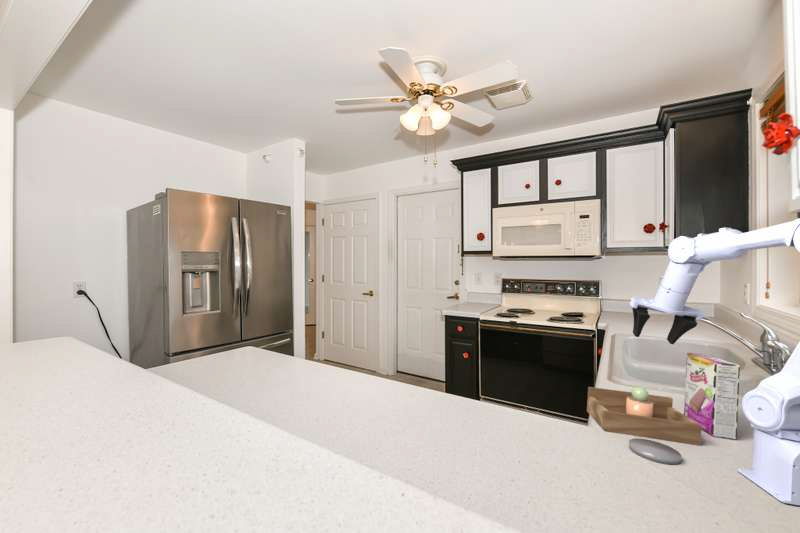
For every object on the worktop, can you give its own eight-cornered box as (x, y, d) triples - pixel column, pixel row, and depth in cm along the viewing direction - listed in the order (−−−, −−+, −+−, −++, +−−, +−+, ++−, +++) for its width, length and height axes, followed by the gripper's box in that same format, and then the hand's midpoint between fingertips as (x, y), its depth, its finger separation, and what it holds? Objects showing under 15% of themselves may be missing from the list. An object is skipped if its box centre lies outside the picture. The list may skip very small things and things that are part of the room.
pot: (656, 433, 77) (658, 392, 77) (630, 429, 78) (633, 388, 78) (645, 424, 82) (647, 385, 82) (621, 420, 83) (623, 382, 83)
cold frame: (700, 445, 72) (702, 416, 73) (604, 430, 76) (605, 402, 76) (669, 422, 84) (670, 397, 84) (586, 411, 88) (588, 386, 88)
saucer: (691, 468, 62) (691, 462, 62) (640, 459, 64) (640, 454, 64) (666, 447, 70) (667, 442, 70) (622, 440, 72) (622, 435, 72)
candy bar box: (681, 417, 88) (685, 352, 89) (704, 421, 87) (708, 354, 88) (711, 437, 77) (715, 361, 78) (738, 441, 76) (742, 364, 77)
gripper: (701, 287, 83) (678, 336, 88) (634, 275, 86) (615, 323, 91) (718, 300, 77) (692, 352, 82) (645, 287, 80) (624, 338, 85)
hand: (652, 338), depth 86 cm, fingers open, 7 cm apart
